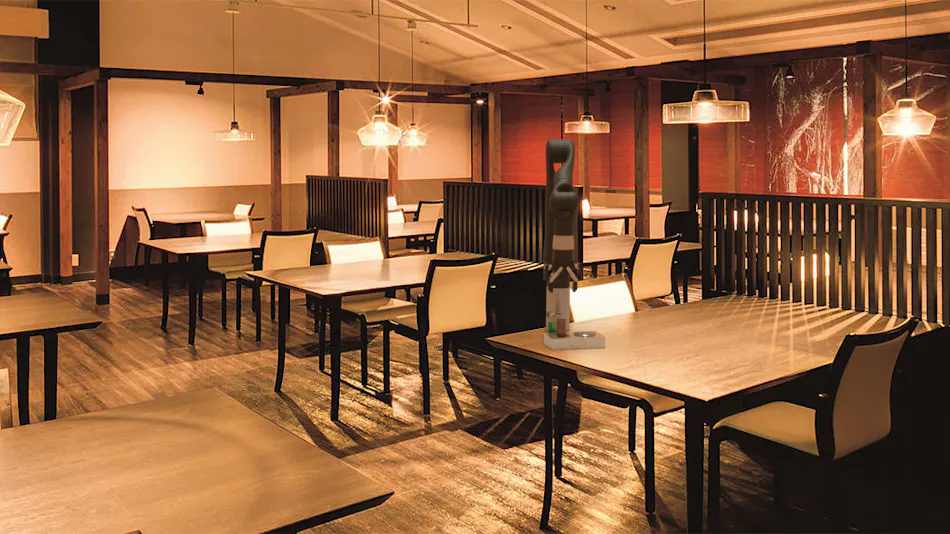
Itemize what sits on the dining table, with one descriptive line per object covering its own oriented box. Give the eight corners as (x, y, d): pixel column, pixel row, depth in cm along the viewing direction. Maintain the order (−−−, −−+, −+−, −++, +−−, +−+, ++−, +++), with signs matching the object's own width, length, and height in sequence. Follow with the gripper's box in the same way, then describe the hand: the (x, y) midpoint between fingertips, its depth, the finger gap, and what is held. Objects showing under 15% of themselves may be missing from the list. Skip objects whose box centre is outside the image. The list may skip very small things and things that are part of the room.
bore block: (543, 343, 319) (543, 332, 319) (595, 341, 323) (595, 330, 322) (551, 349, 308) (551, 338, 308) (605, 347, 312) (605, 336, 312)
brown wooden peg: (552, 345, 317) (552, 318, 315) (565, 344, 318) (565, 317, 316) (556, 347, 312) (556, 320, 311) (569, 347, 313) (569, 320, 311)
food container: (564, 343, 319) (565, 316, 318) (548, 343, 320) (548, 316, 318) (562, 336, 332) (562, 310, 330) (546, 336, 332) (546, 310, 331)
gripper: (579, 246, 315) (578, 289, 317) (541, 246, 312) (540, 291, 314) (585, 248, 308) (584, 293, 310) (546, 249, 305) (546, 294, 307)
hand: (562, 292), depth 312 cm, fingers open, 8 cm apart
